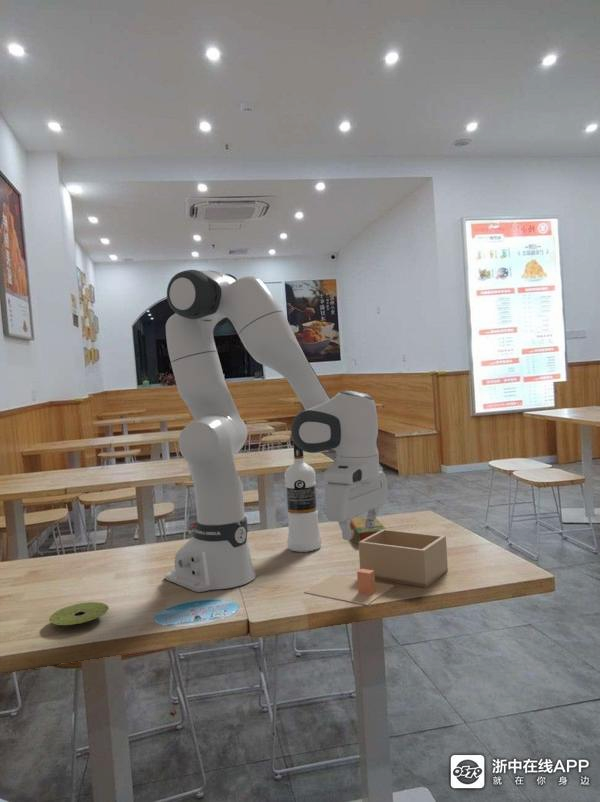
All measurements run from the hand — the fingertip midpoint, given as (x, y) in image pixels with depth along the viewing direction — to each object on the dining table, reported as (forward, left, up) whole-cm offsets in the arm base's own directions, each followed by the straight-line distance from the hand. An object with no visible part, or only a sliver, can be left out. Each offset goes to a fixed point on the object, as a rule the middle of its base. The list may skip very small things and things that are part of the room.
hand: (359, 533), depth 123 cm
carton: (-20, +37, -13) cm, 44 cm away
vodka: (-30, +21, -13) cm, 39 cm away
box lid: (-4, 0, -13) cm, 14 cm away
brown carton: (+3, +14, -13) cm, 19 cm away
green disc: (-43, -39, -13) cm, 60 cm away
